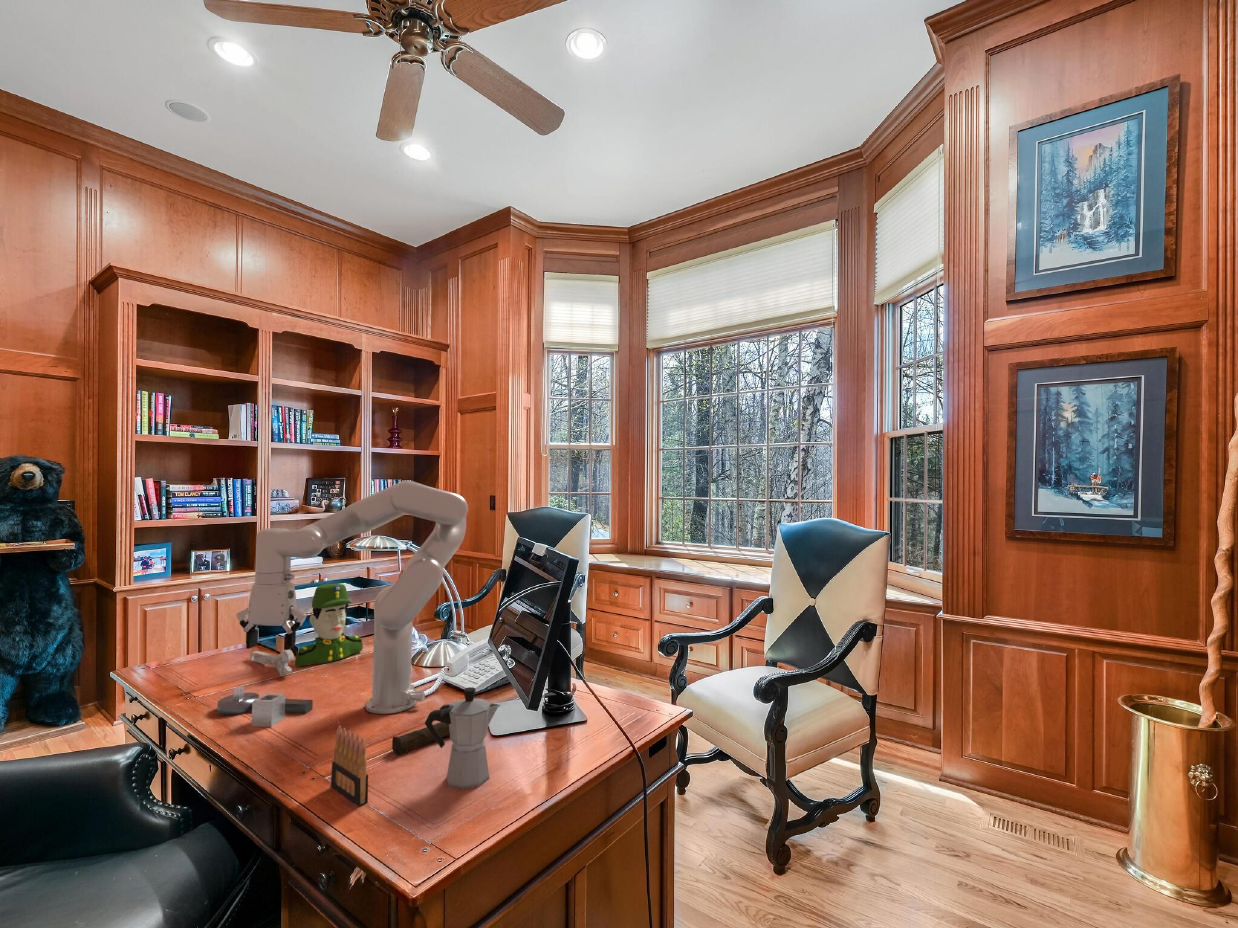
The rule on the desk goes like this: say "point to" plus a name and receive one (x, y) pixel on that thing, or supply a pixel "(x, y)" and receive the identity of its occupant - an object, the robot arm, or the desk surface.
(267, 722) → the socket
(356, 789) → the ammunition clip
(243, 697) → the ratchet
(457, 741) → the coffee maker
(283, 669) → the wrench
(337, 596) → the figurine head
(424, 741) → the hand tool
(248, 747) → the desk surface
